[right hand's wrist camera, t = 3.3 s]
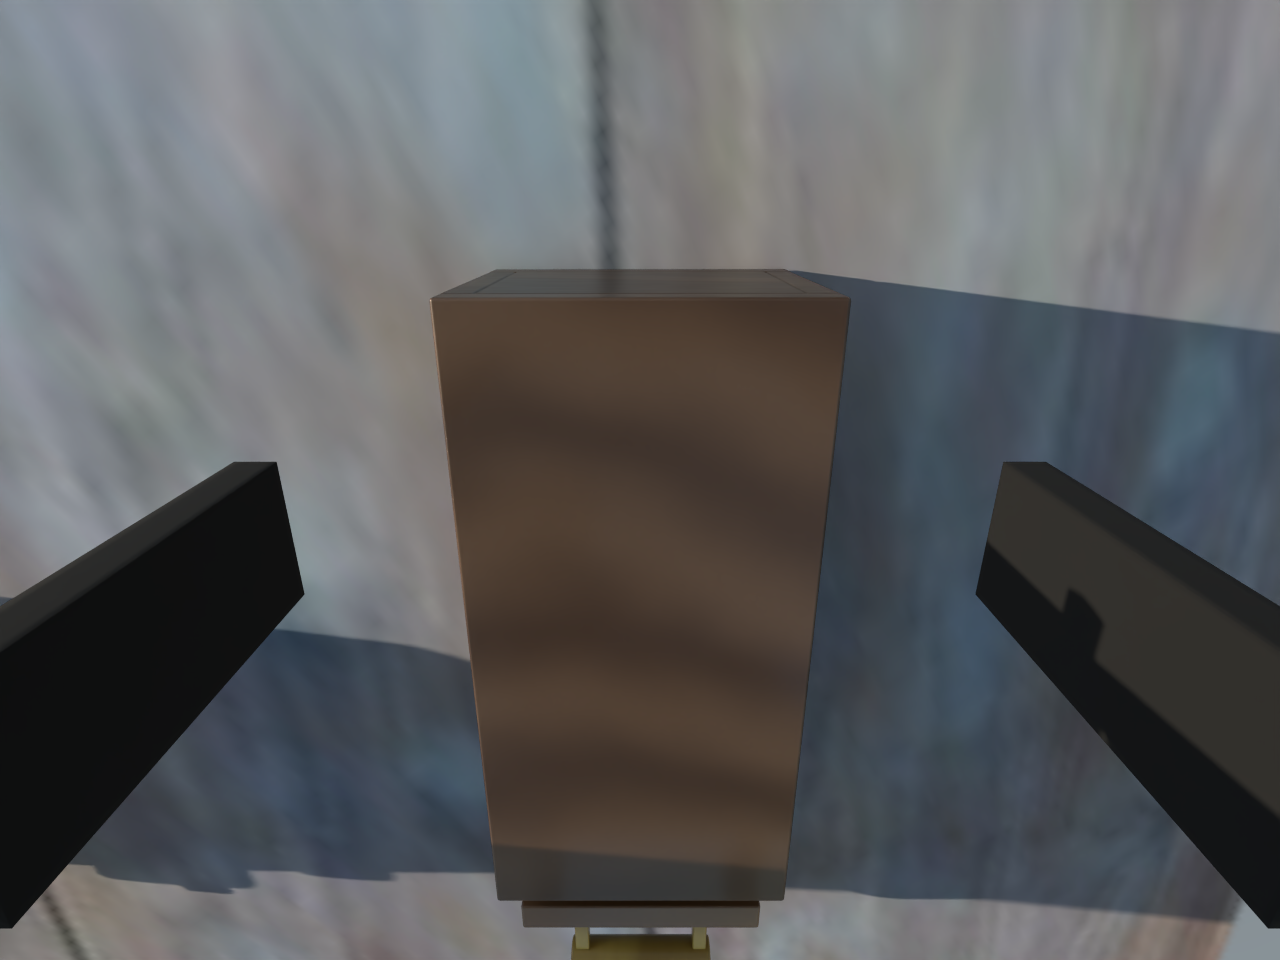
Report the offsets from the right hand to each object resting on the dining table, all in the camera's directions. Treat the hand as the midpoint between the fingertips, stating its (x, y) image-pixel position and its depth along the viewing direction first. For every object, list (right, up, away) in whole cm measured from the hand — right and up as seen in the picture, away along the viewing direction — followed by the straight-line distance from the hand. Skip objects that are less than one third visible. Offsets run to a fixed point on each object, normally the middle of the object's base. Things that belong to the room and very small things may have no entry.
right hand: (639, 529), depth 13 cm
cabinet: (0, -1, +16) cm, 16 cm away
